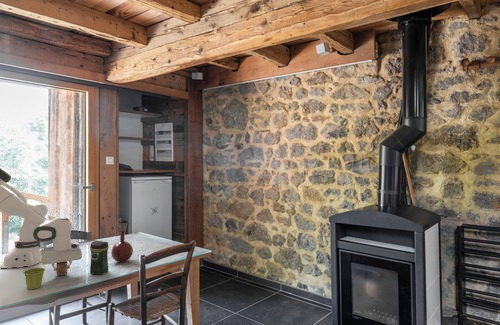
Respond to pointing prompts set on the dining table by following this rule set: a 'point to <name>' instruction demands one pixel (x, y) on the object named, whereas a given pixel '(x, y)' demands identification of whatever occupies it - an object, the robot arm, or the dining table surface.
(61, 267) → the walnut box
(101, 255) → the coffee jar
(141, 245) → the dining table surface
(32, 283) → the plant pot
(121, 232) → the round-bottom flask
